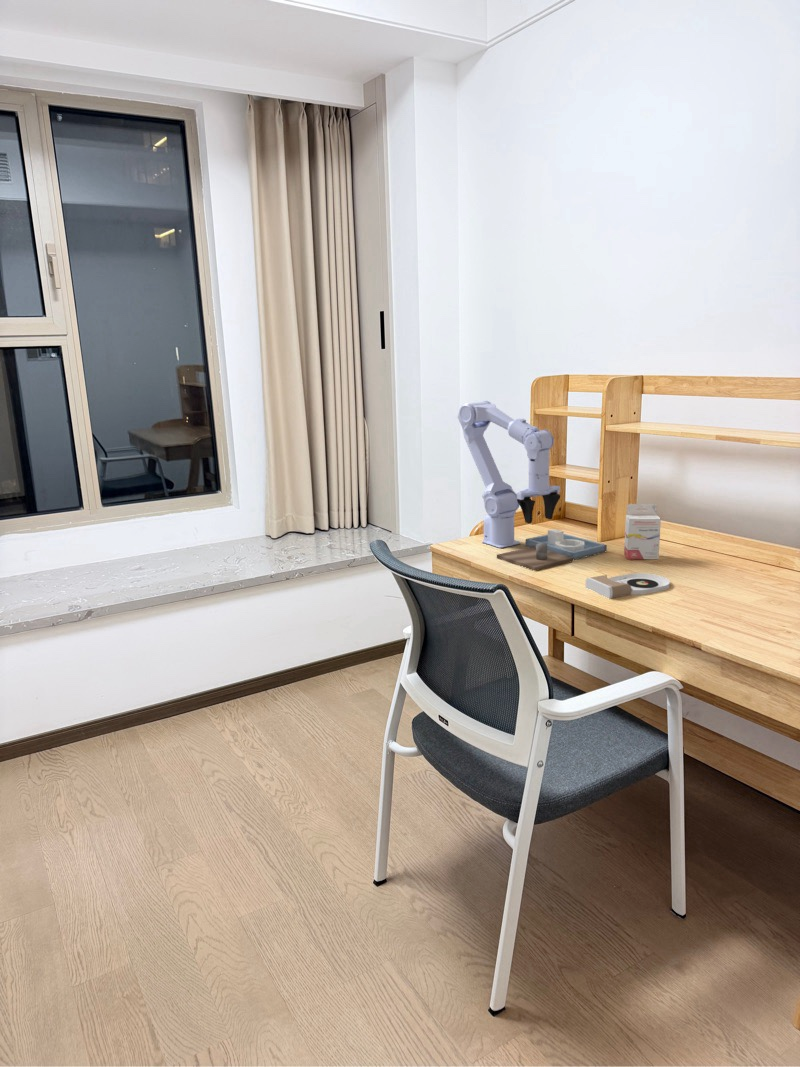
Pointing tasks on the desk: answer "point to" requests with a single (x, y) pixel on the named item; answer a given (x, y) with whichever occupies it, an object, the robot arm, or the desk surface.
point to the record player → (627, 584)
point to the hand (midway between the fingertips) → (538, 520)
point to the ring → (564, 541)
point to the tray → (588, 550)
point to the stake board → (535, 557)
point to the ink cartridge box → (642, 532)
